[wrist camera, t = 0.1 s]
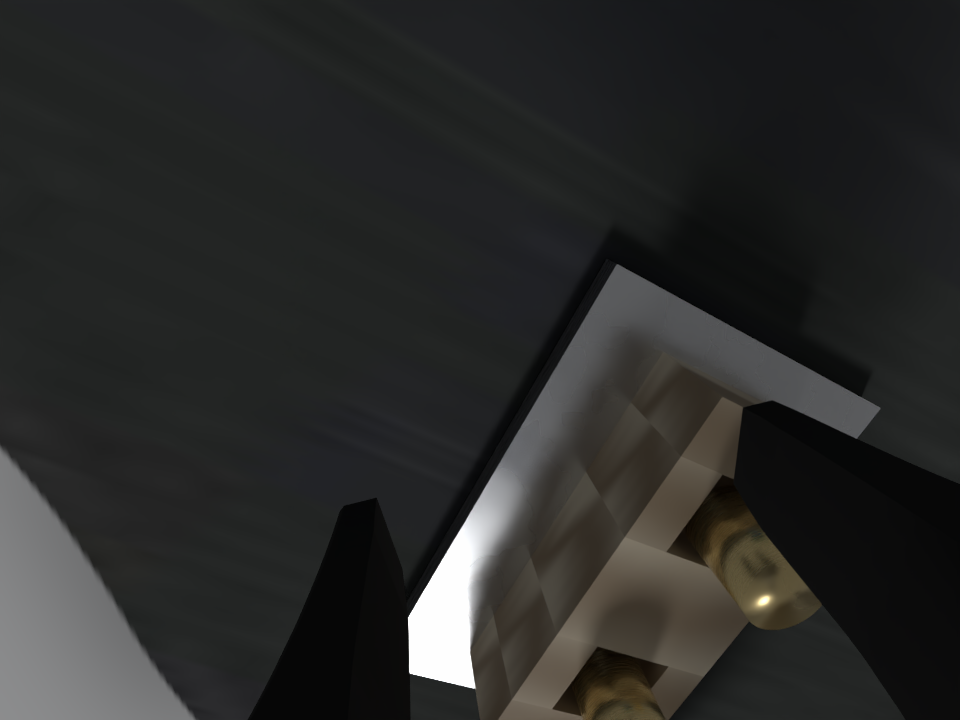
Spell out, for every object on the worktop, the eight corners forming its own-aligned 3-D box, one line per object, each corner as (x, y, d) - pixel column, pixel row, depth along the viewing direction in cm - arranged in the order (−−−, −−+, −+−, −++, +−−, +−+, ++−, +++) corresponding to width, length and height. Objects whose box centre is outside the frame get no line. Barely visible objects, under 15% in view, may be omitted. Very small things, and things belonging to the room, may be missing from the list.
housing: (595, 684, 27) (627, 770, 23) (469, 652, 25) (483, 740, 21) (793, 417, 23) (871, 470, 19) (663, 351, 21) (722, 397, 17)
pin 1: (614, 705, 22) (653, 802, 19) (558, 691, 22) (588, 790, 18) (651, 656, 22) (698, 749, 18) (594, 640, 21) (632, 734, 18)
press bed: (622, 707, 29) (629, 725, 28) (380, 646, 25) (379, 666, 24) (862, 398, 24) (880, 408, 23) (606, 258, 20) (616, 263, 19)
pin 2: (727, 558, 20) (792, 638, 17) (669, 536, 20) (726, 617, 16) (772, 499, 20) (850, 571, 16) (714, 474, 19) (783, 545, 15)
